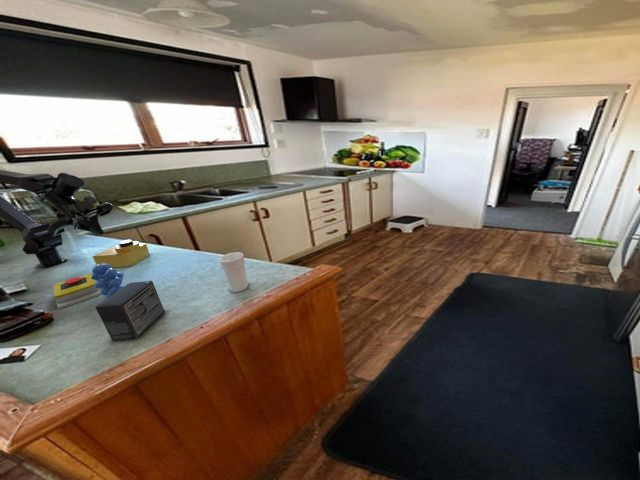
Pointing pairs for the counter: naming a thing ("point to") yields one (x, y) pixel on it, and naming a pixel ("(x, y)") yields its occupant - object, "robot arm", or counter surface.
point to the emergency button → (75, 290)
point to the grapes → (107, 279)
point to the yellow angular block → (122, 255)
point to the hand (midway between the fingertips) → (102, 234)
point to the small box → (130, 310)
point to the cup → (234, 271)
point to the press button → (126, 243)
